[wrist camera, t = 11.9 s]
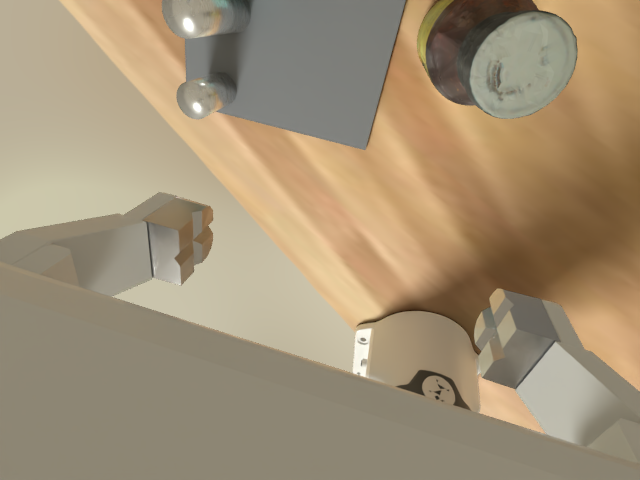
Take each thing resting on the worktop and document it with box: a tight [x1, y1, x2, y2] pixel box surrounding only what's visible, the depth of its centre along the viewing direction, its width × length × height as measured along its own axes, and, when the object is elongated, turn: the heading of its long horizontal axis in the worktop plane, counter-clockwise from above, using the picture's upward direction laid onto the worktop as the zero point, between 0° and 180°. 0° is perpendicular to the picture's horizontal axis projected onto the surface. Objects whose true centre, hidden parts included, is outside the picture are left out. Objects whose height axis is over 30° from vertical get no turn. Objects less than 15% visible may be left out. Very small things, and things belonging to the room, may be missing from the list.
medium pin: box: [162, 0, 251, 39], centre depth 29 cm, size 3×3×9 cm
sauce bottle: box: [417, 0, 577, 119], centre depth 22 cm, size 7×6×20 cm
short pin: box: [177, 72, 237, 119], centre depth 34 cm, size 3×3×6 cm
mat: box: [185, 0, 406, 150], centre depth 32 cm, size 21×20×1 cm
